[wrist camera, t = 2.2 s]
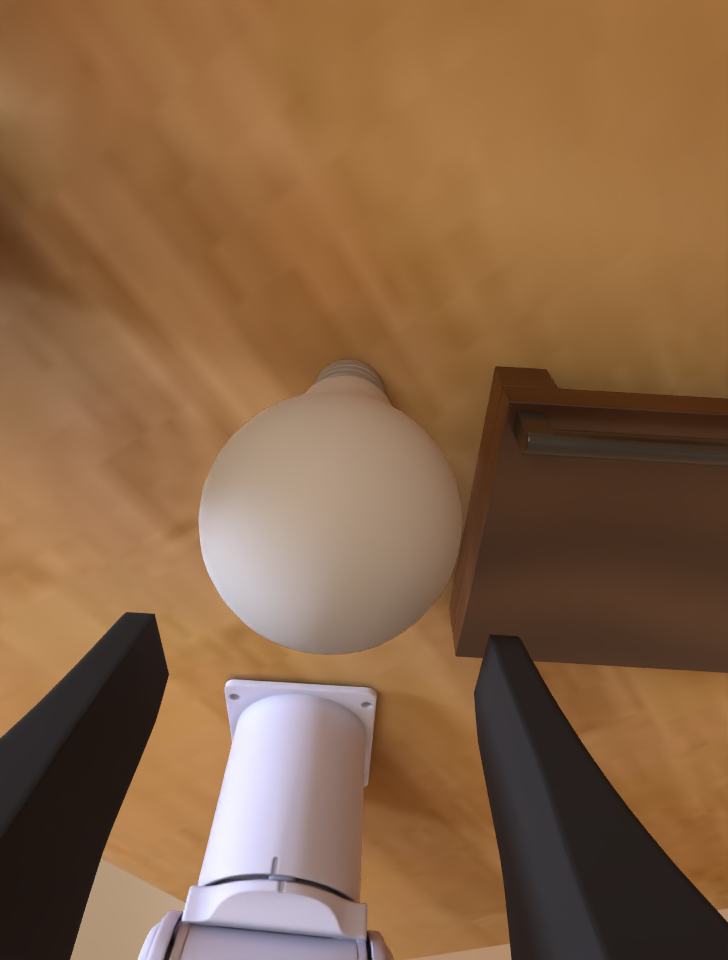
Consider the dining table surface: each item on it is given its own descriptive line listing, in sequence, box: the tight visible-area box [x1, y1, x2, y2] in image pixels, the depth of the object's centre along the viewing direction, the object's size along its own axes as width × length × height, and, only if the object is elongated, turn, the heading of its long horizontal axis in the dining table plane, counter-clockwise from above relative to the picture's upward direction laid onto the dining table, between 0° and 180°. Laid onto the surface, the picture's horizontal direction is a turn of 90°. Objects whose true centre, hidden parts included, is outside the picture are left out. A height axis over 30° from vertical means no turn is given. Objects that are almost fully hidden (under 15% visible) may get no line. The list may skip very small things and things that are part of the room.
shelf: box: [449, 367, 728, 673], centre depth 21 cm, size 12×15×4 cm
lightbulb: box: [198, 359, 462, 655], centre depth 15 cm, size 6×6×11 cm
